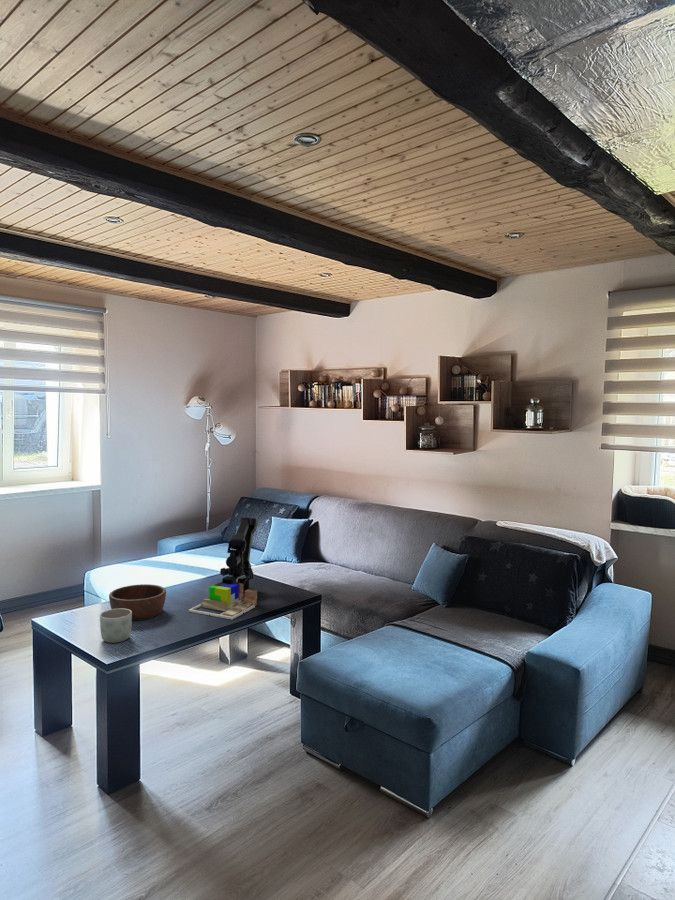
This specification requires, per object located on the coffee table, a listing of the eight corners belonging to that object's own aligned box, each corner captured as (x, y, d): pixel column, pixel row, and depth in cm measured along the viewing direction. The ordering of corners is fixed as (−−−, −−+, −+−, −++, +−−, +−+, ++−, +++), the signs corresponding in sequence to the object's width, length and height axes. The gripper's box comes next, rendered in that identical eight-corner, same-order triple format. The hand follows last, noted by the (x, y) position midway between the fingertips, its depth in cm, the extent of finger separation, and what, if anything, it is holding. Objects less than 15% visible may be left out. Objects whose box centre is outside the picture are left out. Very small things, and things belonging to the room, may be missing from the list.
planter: (122, 631, 257) (122, 606, 257) (138, 639, 249) (137, 613, 249) (94, 639, 248) (94, 613, 247) (109, 647, 240) (109, 620, 239)
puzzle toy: (238, 604, 294) (238, 584, 293) (226, 610, 285) (226, 589, 284) (221, 601, 298) (221, 581, 298) (209, 607, 289) (209, 587, 288)
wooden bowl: (110, 607, 288) (110, 586, 287) (165, 602, 296) (165, 582, 295) (107, 625, 264) (107, 602, 264) (167, 620, 272) (167, 597, 271)
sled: (226, 594, 309) (226, 581, 308) (251, 598, 303) (251, 585, 302) (201, 607, 290) (201, 592, 289) (227, 611, 284) (227, 596, 283)
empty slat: (248, 603, 296) (248, 589, 295) (256, 604, 294) (256, 590, 293) (223, 616, 277) (223, 601, 276) (232, 618, 275) (232, 603, 274)
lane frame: (213, 600, 300) (213, 598, 300) (255, 607, 290) (255, 605, 290) (188, 611, 283) (188, 609, 283) (232, 619, 273) (232, 617, 273)
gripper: (234, 557, 315) (234, 586, 316) (212, 565, 298) (213, 596, 299) (252, 559, 310) (252, 589, 311) (231, 567, 293) (232, 599, 294)
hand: (237, 593), depth 304 cm, fingers open, 4 cm apart
